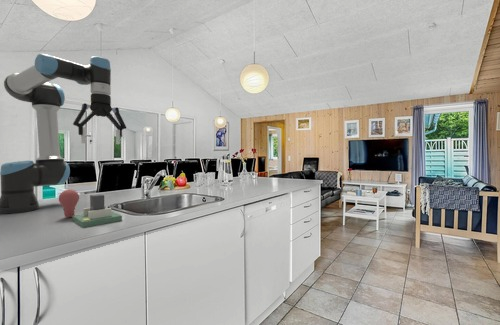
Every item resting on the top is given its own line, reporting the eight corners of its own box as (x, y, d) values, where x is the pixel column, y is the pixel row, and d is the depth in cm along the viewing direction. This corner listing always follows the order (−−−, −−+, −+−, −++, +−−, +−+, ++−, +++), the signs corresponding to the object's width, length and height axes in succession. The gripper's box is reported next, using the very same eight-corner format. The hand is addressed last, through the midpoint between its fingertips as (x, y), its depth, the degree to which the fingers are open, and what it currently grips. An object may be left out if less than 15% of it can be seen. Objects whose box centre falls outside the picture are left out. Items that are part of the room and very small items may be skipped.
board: (72, 220, 105) (72, 208, 105) (109, 214, 115) (109, 203, 115) (82, 227, 95) (82, 214, 95) (121, 220, 106) (121, 208, 105)
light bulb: (69, 220, 106) (68, 191, 105) (54, 219, 107) (54, 190, 107) (83, 216, 112) (83, 188, 112) (69, 215, 114) (69, 188, 113)
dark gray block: (90, 215, 105) (89, 194, 105) (100, 213, 108) (100, 193, 108) (93, 217, 102) (93, 196, 102) (104, 215, 105) (104, 195, 105)
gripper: (68, 87, 99) (69, 142, 100) (133, 98, 118) (134, 144, 118) (63, 90, 104) (64, 142, 105) (127, 100, 123) (127, 144, 123)
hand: (101, 143), depth 112 cm, fingers open, 13 cm apart
